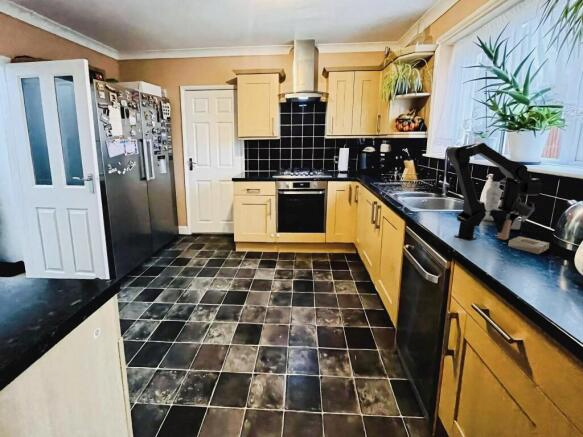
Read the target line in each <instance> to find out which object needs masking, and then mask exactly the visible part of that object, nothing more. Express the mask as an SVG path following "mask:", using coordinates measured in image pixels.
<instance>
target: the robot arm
mask: <svg viewBox="0 0 583 437" xmlns="http://www.w3.org/2000/svg"><path fill="white" fill-rule="evenodd" d="M477 155H478V156H480V157H482V158H484V159H485V160H487V161H488V162H490V163H491V164H493V165H494V166H495V167H497V168H498V169H499V170H500V172H501V173H502V174H503V175H504V176H505V177H504V178H503V179H501V180H500V181H499V182H500V184H504V185H503V191H502V195H501V197H500V200H501V202H500V205H498V208H496V209H493V210H491V211H490V216H492V217H493V220H494V221H493V222H494V224H495V226H496V227H495V228H496V230H497V233H498V232H499V233H501V232H502V230H503V227H504V225H505V222H506V221H507V220H512V221H511V226H512V225H513V223H514V221H515V219H516V218H519V217H522V216H523V215H524V216H529V217H530V216H531V215H532V213H533V212H535V209H536V207H535V203H533V202H528V203H525V202H522V198H521V197H520V196H539V195H541V193H542V192H543V189H544V188H543V185H542V182H541V179H540V178H532V177H531V176H530V174H529V172H528V167H527V165H526V164H522V163H520V162H517V161H515V160H511V159H509V158H507V157H506V156H504V155H502V154H501V153H499V152H498V151H496V150H495V149H493V148H492V147H490V146H489V145H488V144H486V143H485V142H475V143H471V144H467V145H461V146H460V145H453V146H450V147H449V149H448V150H447V151H446V157H447V159H448V161H449V163H450V165H451V166H452V167H453V168H454V170H455V172H456V176H457V180H458V183H459V187H460V191H461V193H462V198H463V205H462V211H461V212H460V213H459V214H457V215H456V221H458V222H459V228H458V232H457V234H455V235H454V237H456V238H460V239H463V240H466V241H473V240H475V239H478V238H477V237H478V236H476V235H475V229H476V227H479V226H480V225H481V224H482V221H483V220H484V217H485V216H486V212H487V210H486V209H485V205H486V202H485V201H481V200H479V199H478V197H477V193H476V190H475V186H474V182H473V179H472V176H471V175H472V174H471V172H470V167H469V165H470V161H471V158H472V157H474V156H477ZM510 178H511V179H510ZM511 226H510V228H511Z"/></svg>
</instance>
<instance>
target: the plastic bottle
mask: <svg viewBox="0 0 583 437" xmlns="http://www.w3.org/2000/svg"><path fill="white" fill-rule="evenodd" d="M500 186H501V183H500V181H491V182H490V187H489V188H488V189H487V190H486V197H485V209H486V210H487V212H486V216H485V217H484V219H483V220H485V221H487V222H488V221H489V222H494V220H493V217H492V216H490V211H491V210H493V209H496V208H497V209H498V206H499V202H500V200H501V199H500V197H501V196H502V195H503V191H502V189H501V188H500Z"/></svg>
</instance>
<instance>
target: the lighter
mask: <svg viewBox="0 0 583 437" xmlns="http://www.w3.org/2000/svg"><path fill="white" fill-rule="evenodd" d="M529 217H530V216H524V215H521V217H520V218H519V217H518V218H516V219H515V221H514V223H513V225H512V226H511V228H510V230H520V228H521V223H522V222H523V223H525V222H526V220H527V219H528V218H529Z"/></svg>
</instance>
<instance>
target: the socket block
mask: <svg viewBox="0 0 583 437" xmlns="http://www.w3.org/2000/svg"><path fill="white" fill-rule="evenodd" d="M507 247H509V248H513V249H517V250H521V251H524V252H525V251H526V252H528V253H532V254H537V255H540V254H542V253H543V252H545V251H547V249H548V250H549V247H550V242H546V241H543V240H542V241H541V240H538V239H533V238H529V237H525V236H517V237H514V238H511V239H509V240H508V245H507Z"/></svg>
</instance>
